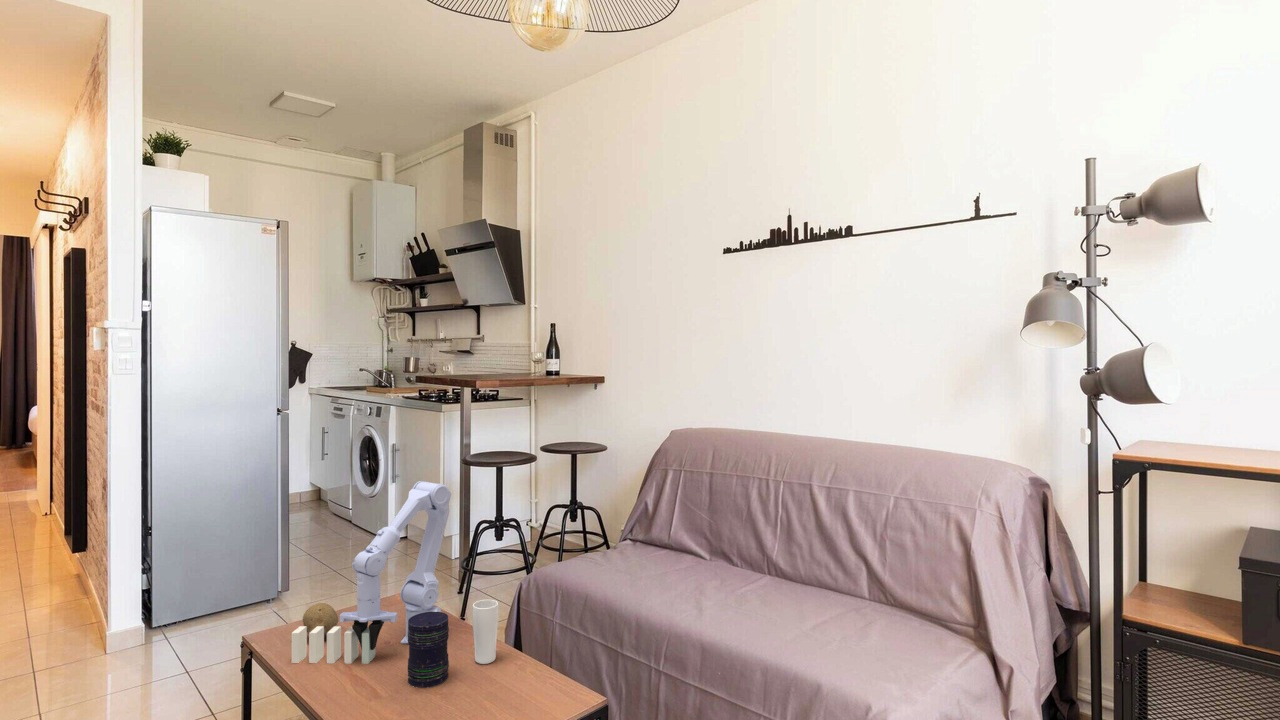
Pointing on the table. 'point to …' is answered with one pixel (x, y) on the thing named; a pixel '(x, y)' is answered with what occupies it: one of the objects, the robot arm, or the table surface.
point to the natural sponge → (320, 617)
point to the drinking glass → (485, 630)
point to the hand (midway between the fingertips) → (368, 648)
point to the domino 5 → (366, 648)
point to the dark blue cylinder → (428, 649)
